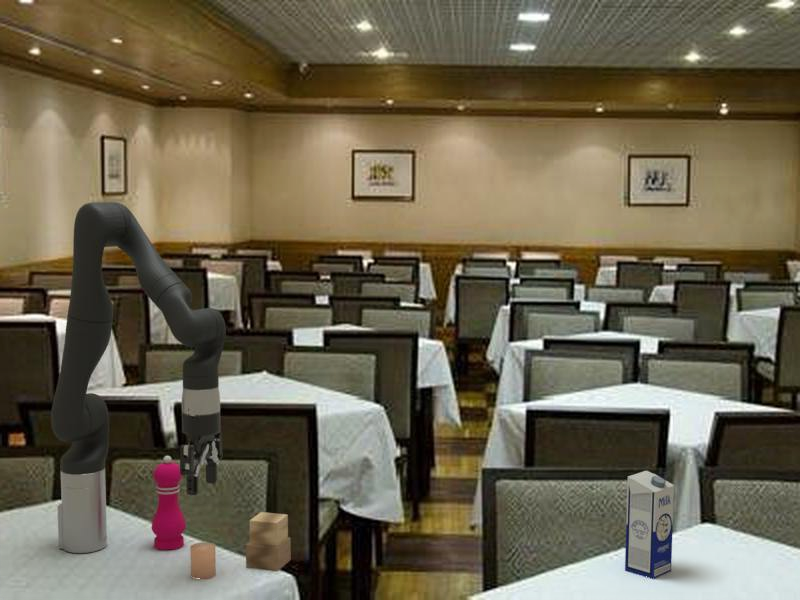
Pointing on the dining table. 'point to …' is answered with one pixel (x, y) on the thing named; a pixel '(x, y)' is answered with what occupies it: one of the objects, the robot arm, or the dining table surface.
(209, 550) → the rounded stamp handle
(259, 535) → the tower top
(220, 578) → the dining table surface
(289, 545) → the tower base
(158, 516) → the pepper mill
